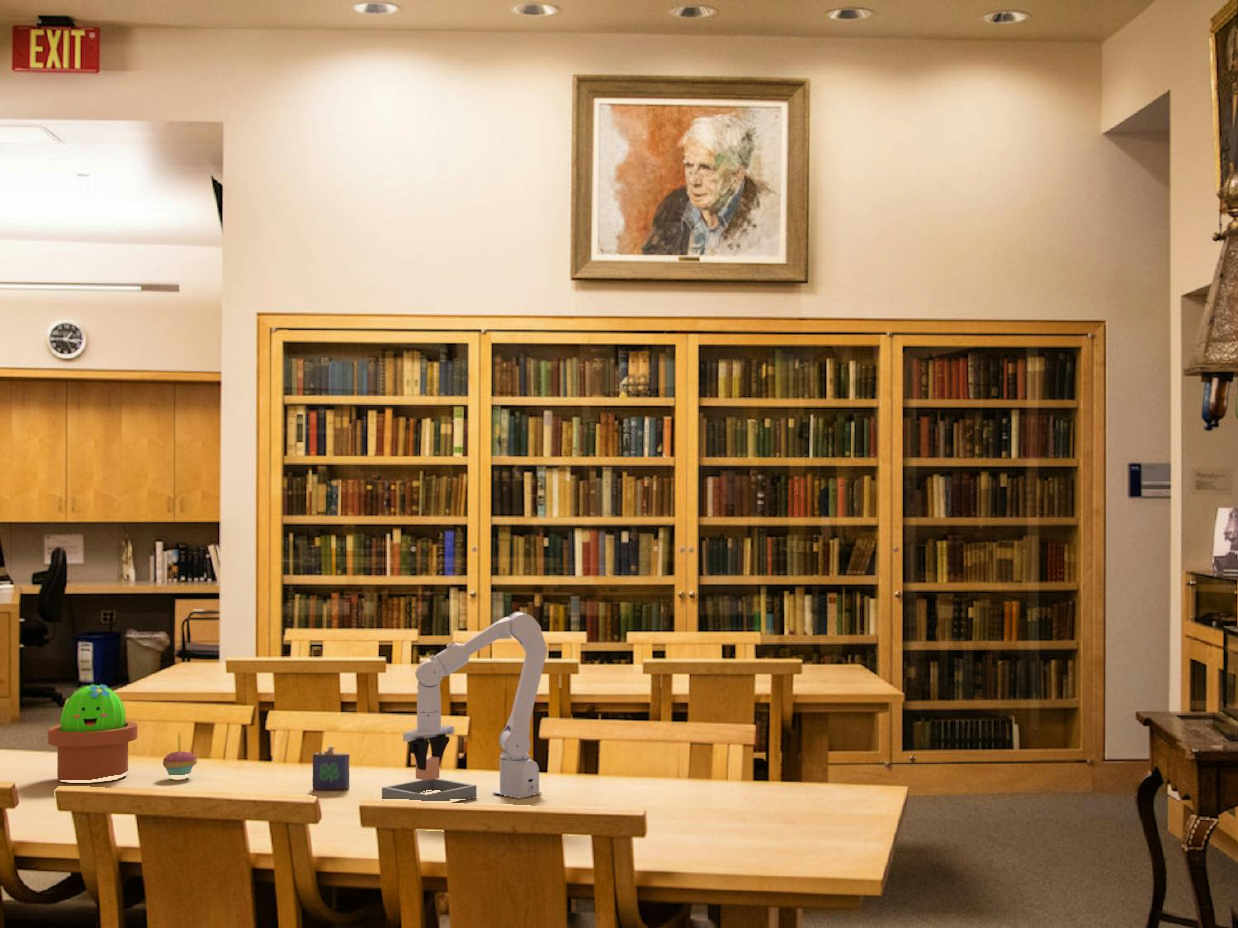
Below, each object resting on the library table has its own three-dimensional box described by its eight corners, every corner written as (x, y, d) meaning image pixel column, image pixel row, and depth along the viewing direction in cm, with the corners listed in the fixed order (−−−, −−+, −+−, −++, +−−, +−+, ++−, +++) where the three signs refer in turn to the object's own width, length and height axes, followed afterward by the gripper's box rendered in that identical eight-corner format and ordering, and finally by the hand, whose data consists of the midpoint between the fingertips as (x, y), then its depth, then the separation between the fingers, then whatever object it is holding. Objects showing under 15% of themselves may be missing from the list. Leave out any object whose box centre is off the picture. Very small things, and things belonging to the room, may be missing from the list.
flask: (350, 788, 345) (350, 745, 345) (347, 790, 342) (347, 747, 342) (314, 788, 345) (313, 745, 345) (310, 790, 342) (310, 747, 342)
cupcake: (161, 777, 362) (161, 731, 362) (194, 774, 365) (194, 729, 366) (164, 782, 354) (165, 736, 354) (199, 780, 358) (199, 733, 358)
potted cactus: (53, 773, 369) (54, 679, 370) (140, 768, 375) (140, 676, 376) (42, 788, 348) (42, 689, 349) (133, 783, 354) (134, 685, 355)
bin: (476, 797, 332) (476, 785, 332) (425, 808, 320) (425, 795, 320) (432, 789, 342) (432, 777, 342) (381, 799, 330) (381, 787, 330)
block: (439, 777, 332) (439, 756, 332) (426, 780, 329) (426, 759, 329) (428, 776, 334) (428, 755, 335) (415, 778, 331) (415, 757, 332)
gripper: (440, 706, 340) (440, 761, 339) (394, 712, 329) (394, 770, 328) (459, 708, 335) (460, 764, 335) (414, 715, 324) (414, 773, 324)
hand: (429, 767), depth 331 cm, fingers closed on block, 4 cm apart
